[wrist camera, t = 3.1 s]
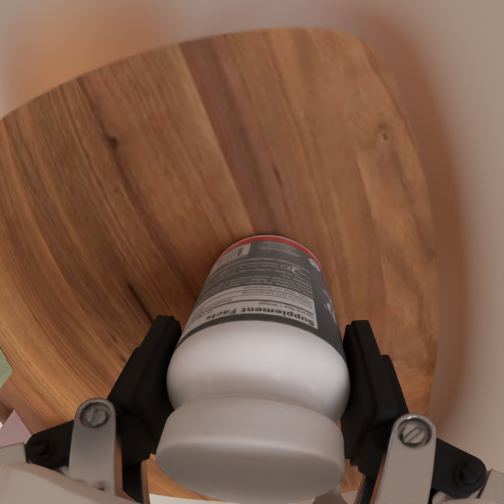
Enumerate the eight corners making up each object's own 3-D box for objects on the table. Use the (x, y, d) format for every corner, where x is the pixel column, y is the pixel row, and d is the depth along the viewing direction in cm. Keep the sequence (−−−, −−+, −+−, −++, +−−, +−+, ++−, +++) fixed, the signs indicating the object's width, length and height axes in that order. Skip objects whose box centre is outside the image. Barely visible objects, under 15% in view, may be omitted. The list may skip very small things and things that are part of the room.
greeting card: (10, 405, 28) (-32, 469, 14) (46, 436, 29) (10, 504, 16) (5, 417, 31) (-29, 470, 18) (35, 443, 33) (5, 498, 19)
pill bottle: (316, 333, 15) (332, 509, 6) (213, 326, 16) (161, 494, 7) (333, 234, 13) (405, 427, 4) (209, 227, 14) (100, 401, 5)
